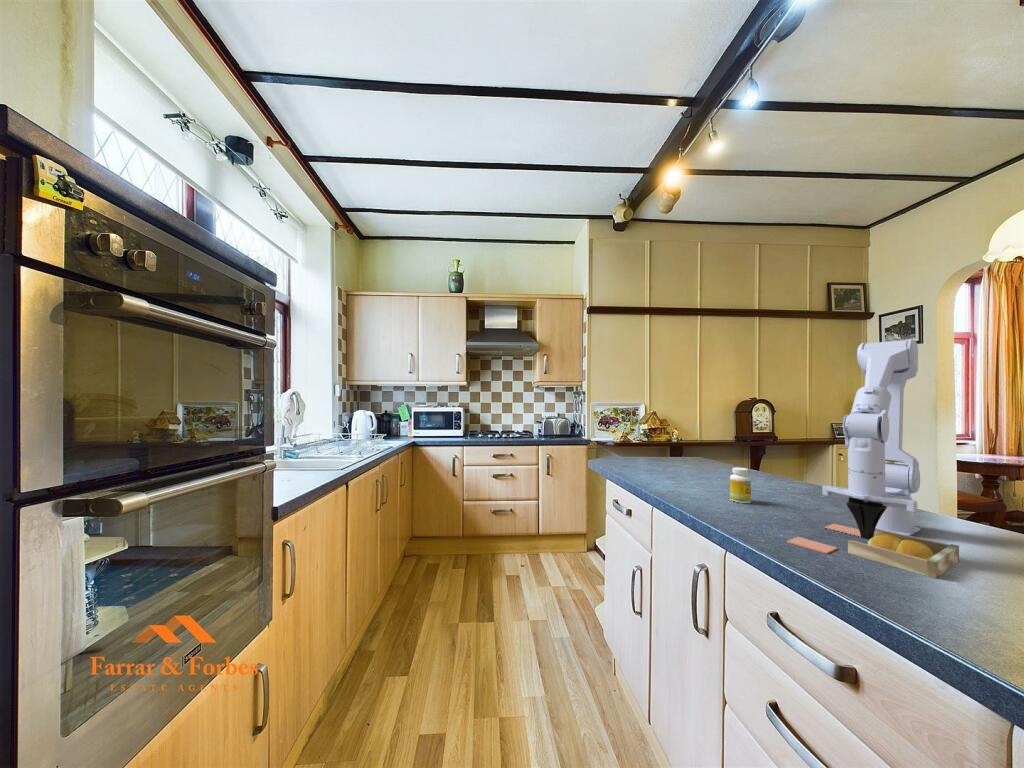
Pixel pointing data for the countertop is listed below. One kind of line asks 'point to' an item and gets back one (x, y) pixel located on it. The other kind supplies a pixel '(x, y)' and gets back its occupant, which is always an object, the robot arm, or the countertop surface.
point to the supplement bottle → (740, 486)
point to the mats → (819, 546)
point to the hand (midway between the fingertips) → (867, 538)
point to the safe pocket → (931, 567)
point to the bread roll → (901, 545)
